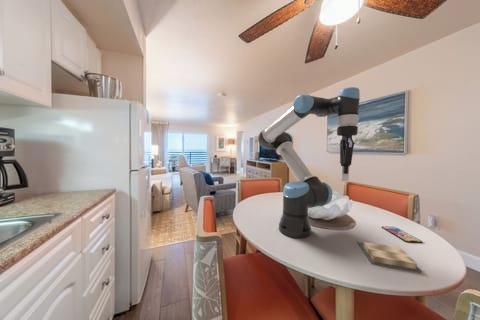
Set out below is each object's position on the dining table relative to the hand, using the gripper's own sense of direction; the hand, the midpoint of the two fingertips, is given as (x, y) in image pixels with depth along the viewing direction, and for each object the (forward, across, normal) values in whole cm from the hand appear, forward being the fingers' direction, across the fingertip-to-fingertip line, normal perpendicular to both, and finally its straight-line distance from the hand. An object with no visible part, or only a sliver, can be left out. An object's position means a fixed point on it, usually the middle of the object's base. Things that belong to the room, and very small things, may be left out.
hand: (344, 180), depth 77 cm
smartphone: (+27, +14, -28) cm, 41 cm away
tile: (+25, -5, -13) cm, 28 cm away
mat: (+26, -8, -13) cm, 31 cm away
